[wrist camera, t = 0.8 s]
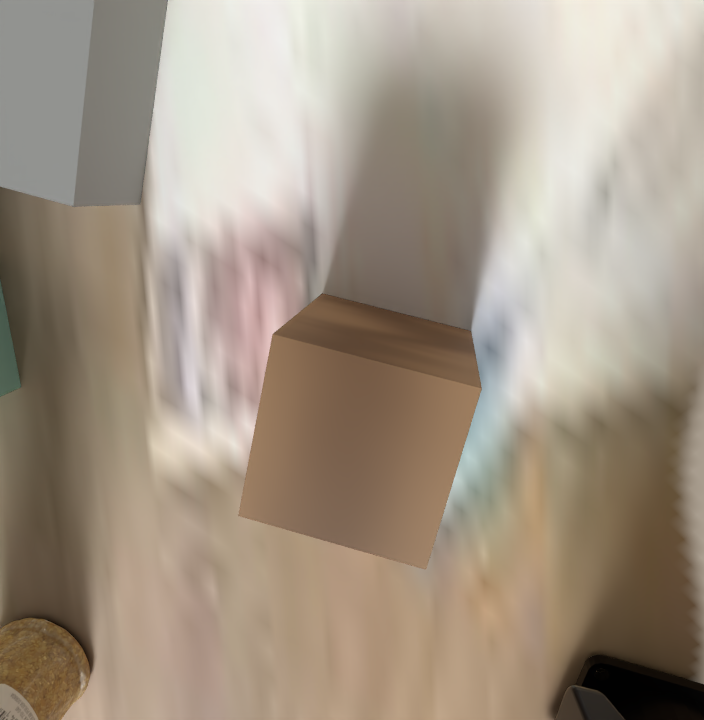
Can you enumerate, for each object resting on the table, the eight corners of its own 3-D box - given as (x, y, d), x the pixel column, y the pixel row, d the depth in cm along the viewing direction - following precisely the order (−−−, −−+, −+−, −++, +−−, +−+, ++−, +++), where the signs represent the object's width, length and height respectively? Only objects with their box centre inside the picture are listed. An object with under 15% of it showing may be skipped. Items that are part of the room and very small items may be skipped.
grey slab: (181, -66, 18) (108, -138, 14) (144, 204, 20) (73, 206, 16) (-64, -123, 18) (-197, -207, 14) (-72, 145, 21) (-189, 134, 17)
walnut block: (471, 330, 19) (481, 388, 14) (431, 466, 21) (425, 569, 15) (322, 293, 20) (272, 334, 14) (294, 428, 21) (238, 515, 15)
